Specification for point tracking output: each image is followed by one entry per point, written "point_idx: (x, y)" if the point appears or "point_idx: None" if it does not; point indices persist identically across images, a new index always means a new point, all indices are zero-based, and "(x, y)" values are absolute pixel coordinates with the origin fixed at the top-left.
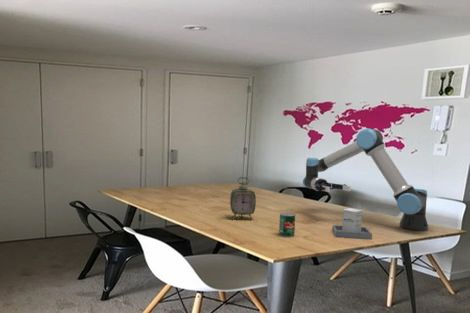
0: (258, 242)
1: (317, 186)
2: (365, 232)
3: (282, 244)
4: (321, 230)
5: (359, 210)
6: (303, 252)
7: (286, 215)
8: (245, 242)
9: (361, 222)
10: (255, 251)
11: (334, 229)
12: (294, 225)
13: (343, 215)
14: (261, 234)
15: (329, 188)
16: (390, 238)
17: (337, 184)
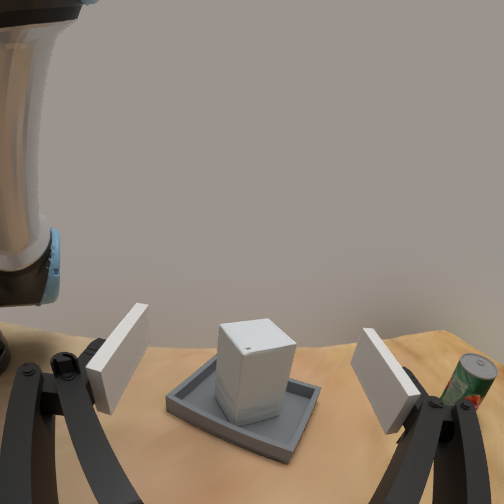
0: None
1: (460, 403)
2: (183, 399)
3: (446, 367)
4: (334, 469)
5: (235, 324)
6: (409, 339)
7: (478, 359)
8: (499, 373)
9: (216, 364)
10: (471, 346)
11: (311, 411)
12: (447, 385)
13: (291, 363)
14: (498, 414)
15: (360, 338)
16: (153, 356)
17: (31, 480)
